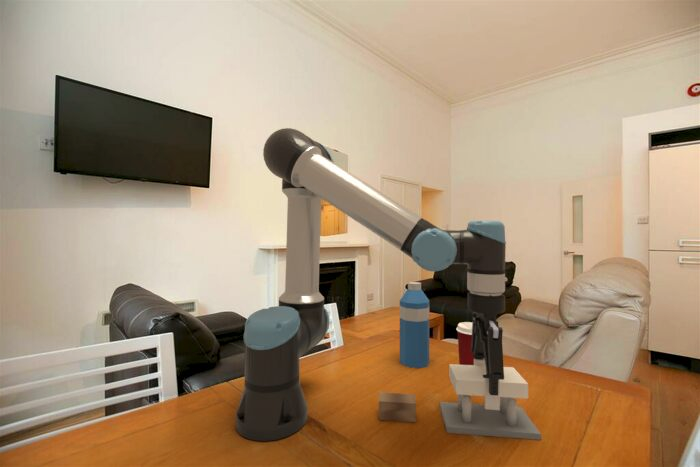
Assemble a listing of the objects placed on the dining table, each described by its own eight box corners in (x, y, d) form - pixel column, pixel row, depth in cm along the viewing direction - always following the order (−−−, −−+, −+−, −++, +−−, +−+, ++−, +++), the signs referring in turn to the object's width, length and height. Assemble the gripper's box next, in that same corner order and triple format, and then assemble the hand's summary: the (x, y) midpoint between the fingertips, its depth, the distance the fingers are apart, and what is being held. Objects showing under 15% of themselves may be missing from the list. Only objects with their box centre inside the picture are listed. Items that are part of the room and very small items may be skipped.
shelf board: (456, 394, 67) (456, 379, 67) (449, 377, 75) (449, 364, 75) (528, 398, 65) (528, 383, 65) (513, 380, 73) (513, 367, 73)
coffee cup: (490, 387, 86) (490, 330, 86) (458, 384, 87) (458, 328, 87) (484, 373, 94) (484, 322, 94) (454, 371, 96) (454, 320, 96)
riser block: (378, 419, 71) (378, 401, 71) (379, 409, 75) (379, 392, 75) (415, 422, 70) (415, 403, 70) (414, 412, 74) (414, 394, 74)
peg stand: (447, 432, 66) (447, 402, 66) (439, 406, 76) (439, 380, 76) (541, 439, 64) (541, 408, 64) (520, 412, 74) (521, 384, 74)
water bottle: (432, 368, 98) (432, 285, 98) (401, 368, 98) (401, 285, 98) (426, 356, 107) (426, 280, 107) (397, 356, 107) (397, 280, 107)
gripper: (524, 303, 59) (523, 427, 59) (489, 285, 80) (489, 377, 80) (481, 302, 60) (480, 424, 60) (458, 284, 81) (457, 375, 81)
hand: (485, 397), depth 70 cm, fingers closed on shelf board, 8 cm apart
